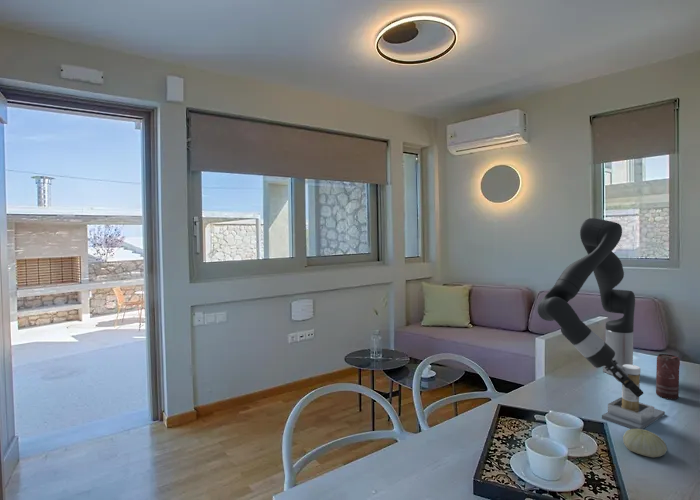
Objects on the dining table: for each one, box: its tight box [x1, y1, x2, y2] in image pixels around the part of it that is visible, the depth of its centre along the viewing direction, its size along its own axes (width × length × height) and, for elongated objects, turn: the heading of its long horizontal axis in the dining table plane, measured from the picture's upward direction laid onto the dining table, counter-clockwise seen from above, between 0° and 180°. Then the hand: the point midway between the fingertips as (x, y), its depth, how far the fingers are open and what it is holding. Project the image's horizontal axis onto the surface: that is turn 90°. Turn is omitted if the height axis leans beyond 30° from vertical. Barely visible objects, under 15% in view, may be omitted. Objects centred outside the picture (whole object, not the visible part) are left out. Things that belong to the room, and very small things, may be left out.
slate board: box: [601, 407, 666, 430], centre depth 128 cm, size 10×18×1 cm, turn 124°
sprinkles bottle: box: [621, 364, 641, 412], centre depth 126 cm, size 5×5×13 cm
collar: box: [607, 396, 655, 425], centre depth 126 cm, size 9×9×3 cm
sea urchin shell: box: [622, 428, 668, 458], centre depth 109 cm, size 9×8×8 cm
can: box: [655, 353, 681, 401], centre depth 142 cm, size 6×6×14 cm
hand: (638, 391), depth 126 cm, fingers closed on sprinkles bottle, 4 cm apart
